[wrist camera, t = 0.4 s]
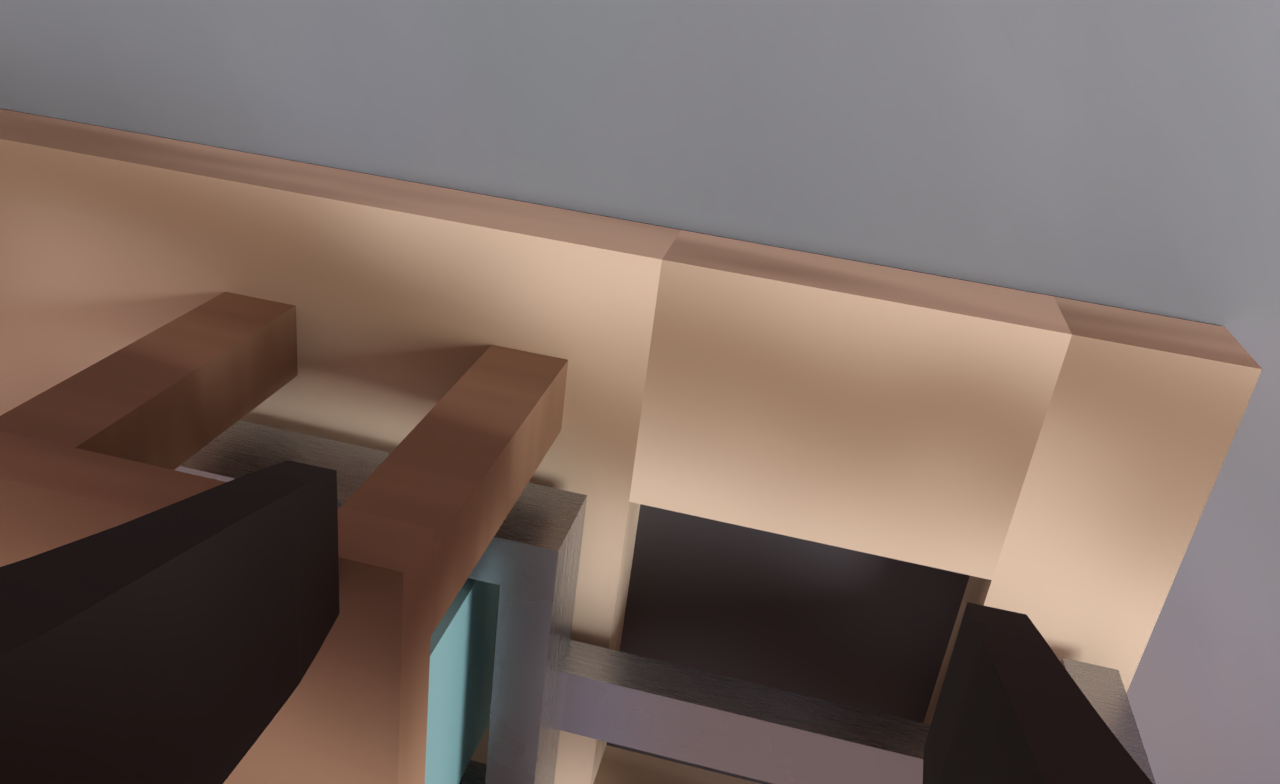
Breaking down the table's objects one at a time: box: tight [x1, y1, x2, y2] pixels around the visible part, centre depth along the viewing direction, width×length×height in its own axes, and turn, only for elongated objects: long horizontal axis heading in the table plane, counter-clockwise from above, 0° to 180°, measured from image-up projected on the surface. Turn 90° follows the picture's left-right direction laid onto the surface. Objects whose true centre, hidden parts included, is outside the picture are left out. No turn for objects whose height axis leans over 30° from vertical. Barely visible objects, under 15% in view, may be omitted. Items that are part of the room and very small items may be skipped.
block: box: [425, 578, 499, 784], centre depth 20 cm, size 5×5×5 cm
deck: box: [0, 109, 1262, 784], centre depth 23 cm, size 18×27×2 cm, turn 83°
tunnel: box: [0, 292, 568, 784], centre depth 19 cm, size 14×7×8 cm, turn 173°
